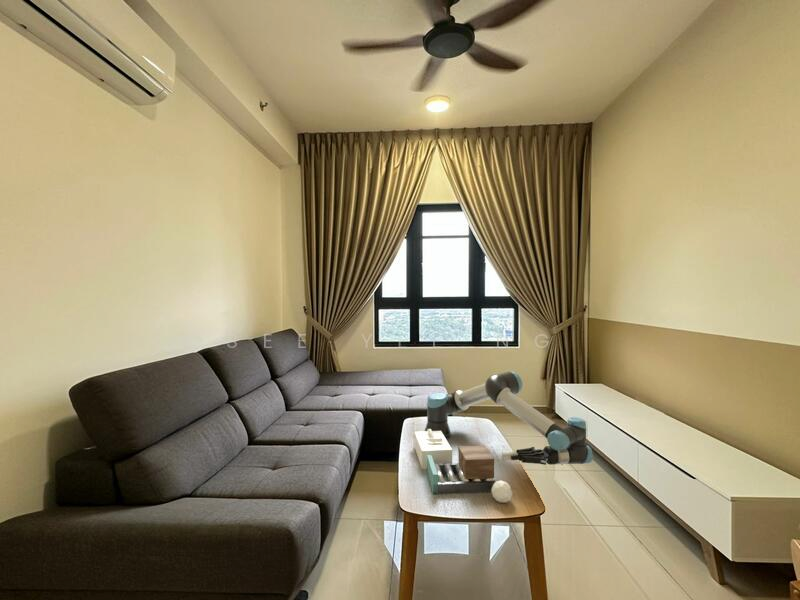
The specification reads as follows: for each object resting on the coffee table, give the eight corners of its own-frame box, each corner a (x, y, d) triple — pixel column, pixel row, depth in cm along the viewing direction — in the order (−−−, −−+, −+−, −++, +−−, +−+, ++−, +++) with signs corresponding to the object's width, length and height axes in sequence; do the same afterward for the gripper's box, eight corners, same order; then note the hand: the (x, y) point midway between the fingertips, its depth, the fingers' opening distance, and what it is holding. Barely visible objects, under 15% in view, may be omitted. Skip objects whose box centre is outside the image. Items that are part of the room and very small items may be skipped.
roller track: (427, 472, 167) (427, 462, 167) (487, 470, 169) (487, 460, 169) (433, 494, 149) (433, 483, 149) (500, 491, 150) (500, 480, 150)
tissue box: (422, 469, 171) (421, 446, 171) (414, 447, 196) (414, 427, 196) (452, 467, 172) (452, 444, 172) (441, 446, 197) (441, 426, 197)
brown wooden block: (458, 463, 166) (458, 446, 166) (484, 463, 166) (484, 445, 166) (465, 479, 152) (465, 459, 152) (494, 478, 152) (494, 458, 152)
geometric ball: (496, 507, 144) (485, 486, 148) (513, 497, 146) (502, 477, 149) (500, 507, 137) (489, 485, 141) (518, 497, 139) (507, 475, 143)
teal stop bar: (427, 472, 167) (427, 455, 167) (431, 472, 167) (431, 454, 167) (433, 494, 149) (433, 474, 149) (438, 494, 149) (438, 474, 149)
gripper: (562, 470, 154) (508, 472, 153) (548, 457, 168) (497, 458, 166) (562, 452, 154) (508, 454, 153) (548, 440, 167) (497, 442, 166)
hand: (502, 456), depth 160 cm, fingers closed
